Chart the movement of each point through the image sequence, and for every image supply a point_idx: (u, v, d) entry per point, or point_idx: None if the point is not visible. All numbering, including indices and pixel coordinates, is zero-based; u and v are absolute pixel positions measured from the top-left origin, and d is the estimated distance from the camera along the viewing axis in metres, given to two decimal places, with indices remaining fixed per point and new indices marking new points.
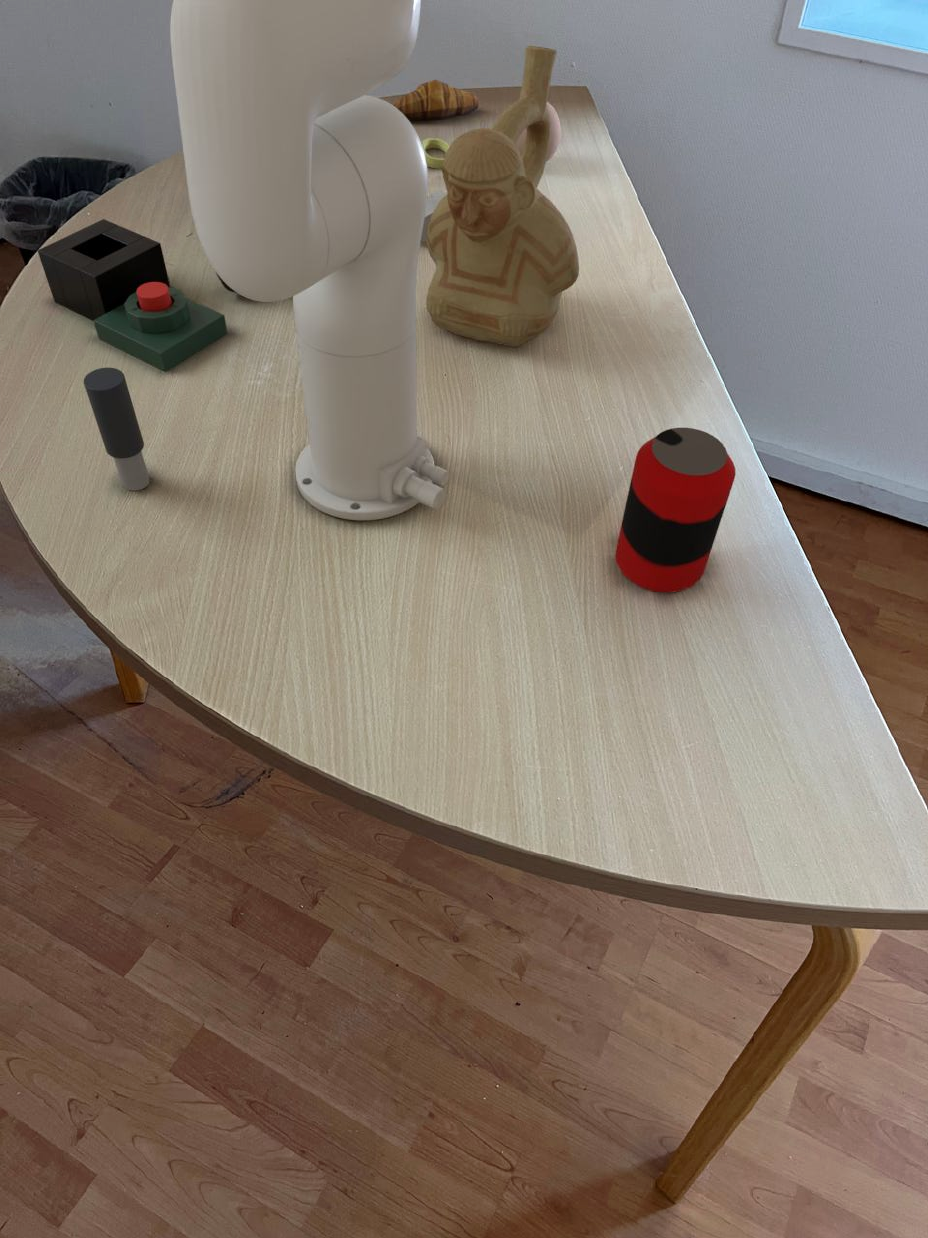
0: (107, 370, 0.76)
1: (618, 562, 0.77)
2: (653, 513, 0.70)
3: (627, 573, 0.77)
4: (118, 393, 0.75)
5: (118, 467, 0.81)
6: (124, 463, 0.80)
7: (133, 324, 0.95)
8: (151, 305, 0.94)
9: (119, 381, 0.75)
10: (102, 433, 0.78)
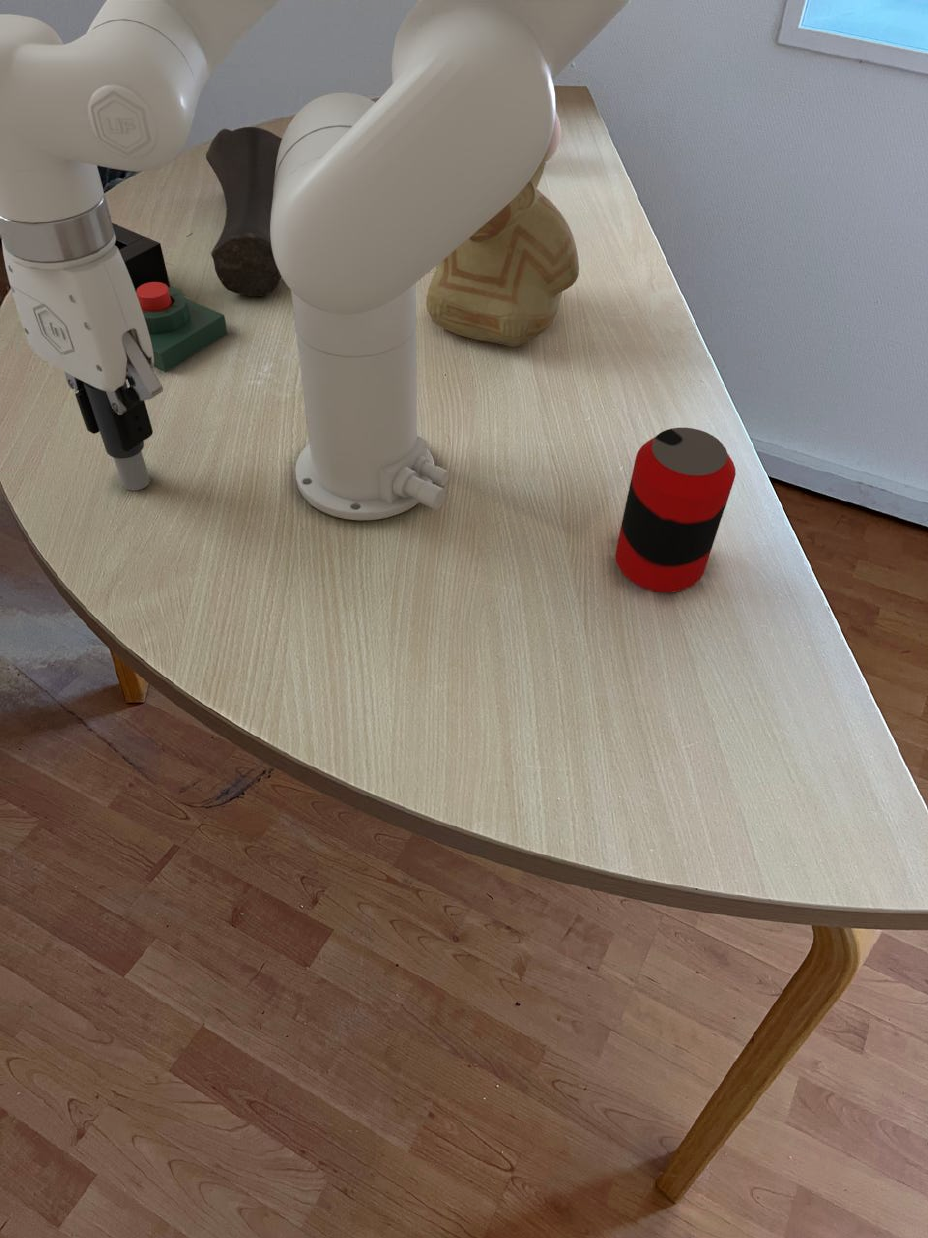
0: None
1: (618, 562, 0.77)
2: (653, 513, 0.70)
3: (627, 573, 0.77)
4: None
5: (118, 467, 0.81)
6: (124, 463, 0.80)
7: None
8: (151, 305, 0.94)
9: None
10: (102, 433, 0.78)
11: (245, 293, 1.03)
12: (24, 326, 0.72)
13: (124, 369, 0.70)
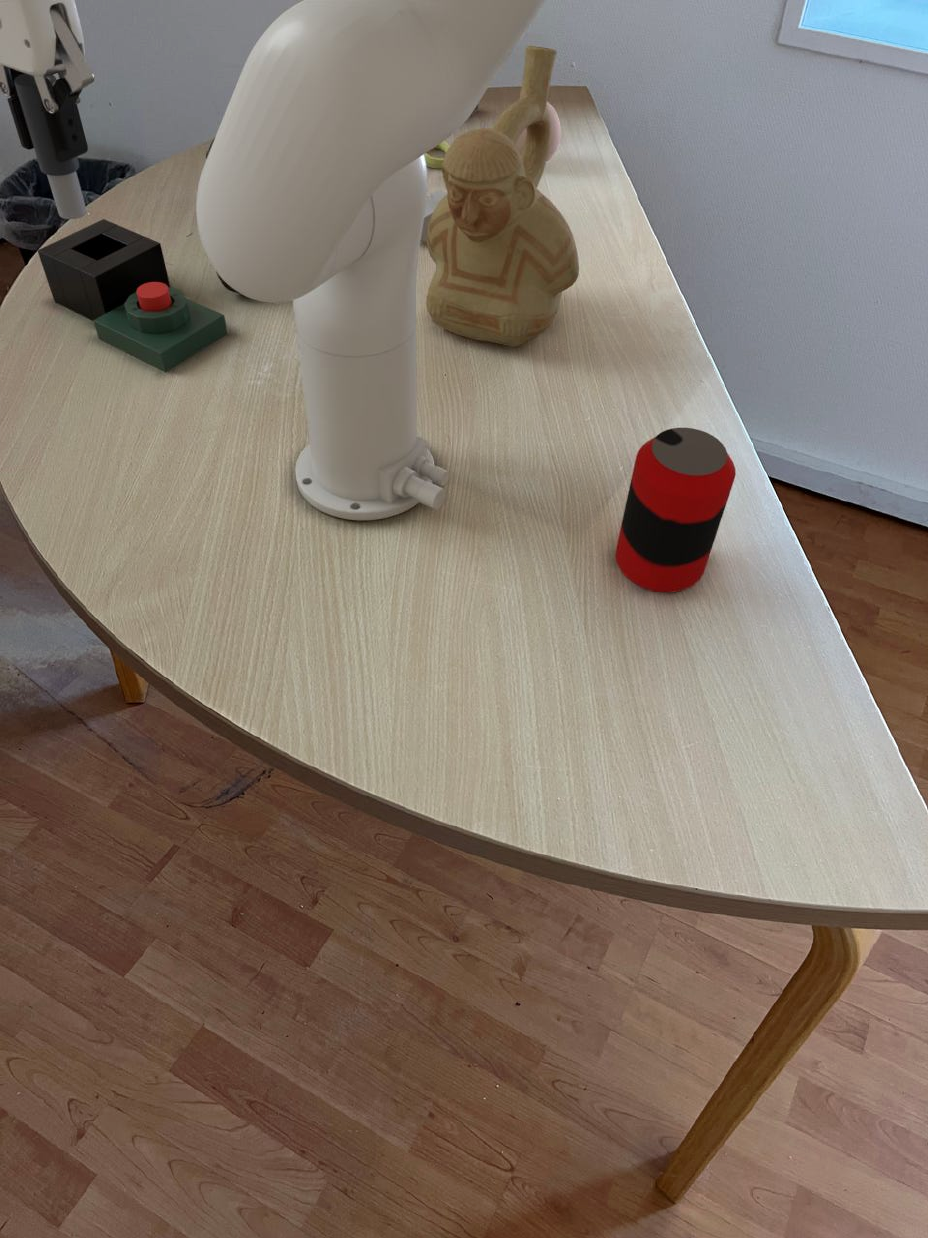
0: None
1: (618, 562, 0.77)
2: (653, 513, 0.70)
3: (627, 573, 0.77)
4: None
5: (53, 190, 0.80)
6: (59, 183, 0.80)
7: (133, 324, 0.95)
8: (151, 305, 0.94)
9: (51, 81, 0.74)
10: (35, 144, 0.77)
11: None
12: None
13: (53, 49, 0.69)
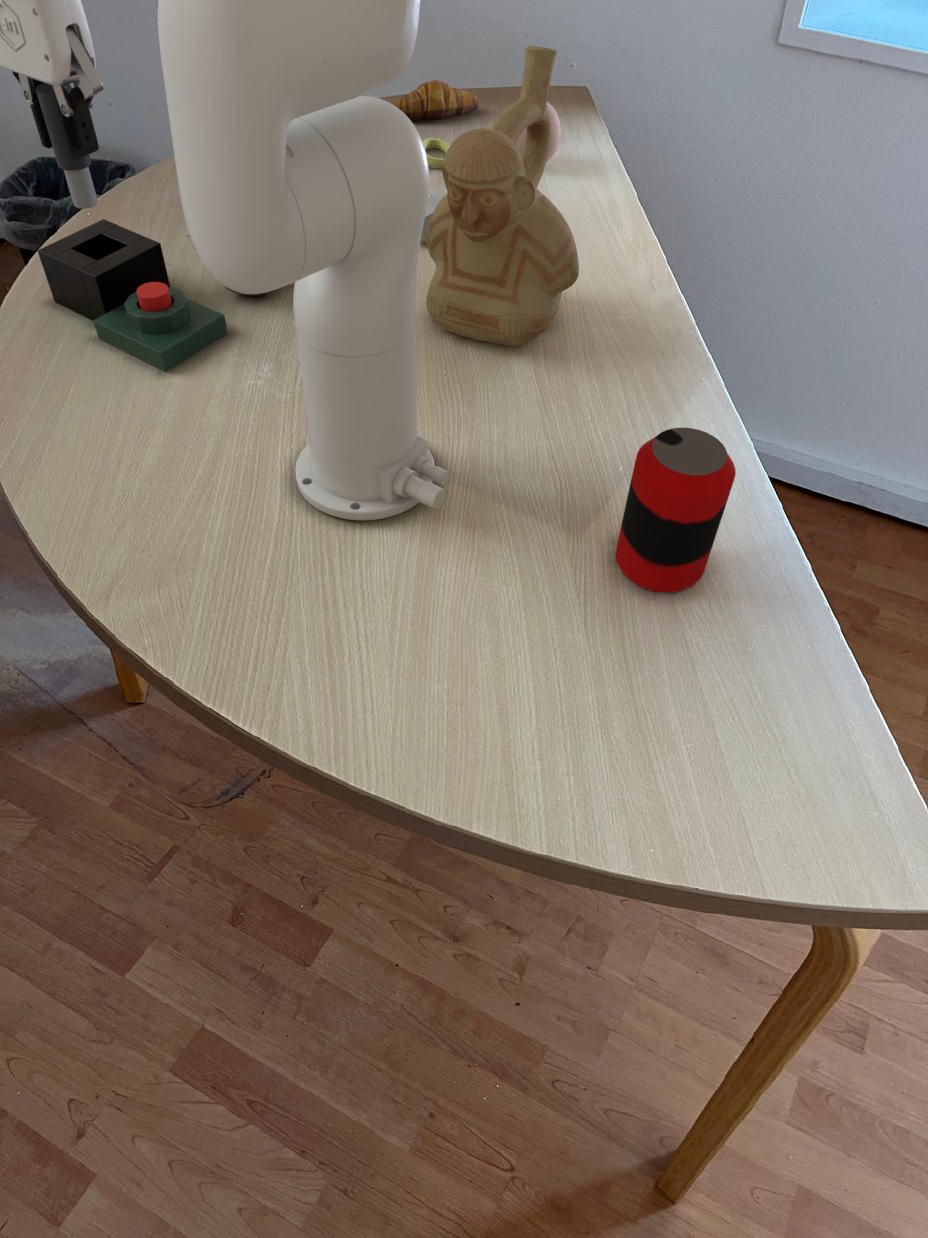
0: None
1: (618, 562, 0.77)
2: (653, 513, 0.70)
3: (627, 573, 0.77)
4: None
5: (69, 183, 0.93)
6: (74, 177, 0.92)
7: (133, 324, 0.95)
8: (151, 305, 0.94)
9: (67, 89, 0.87)
10: (53, 143, 0.90)
11: None
12: None
13: (69, 62, 0.82)
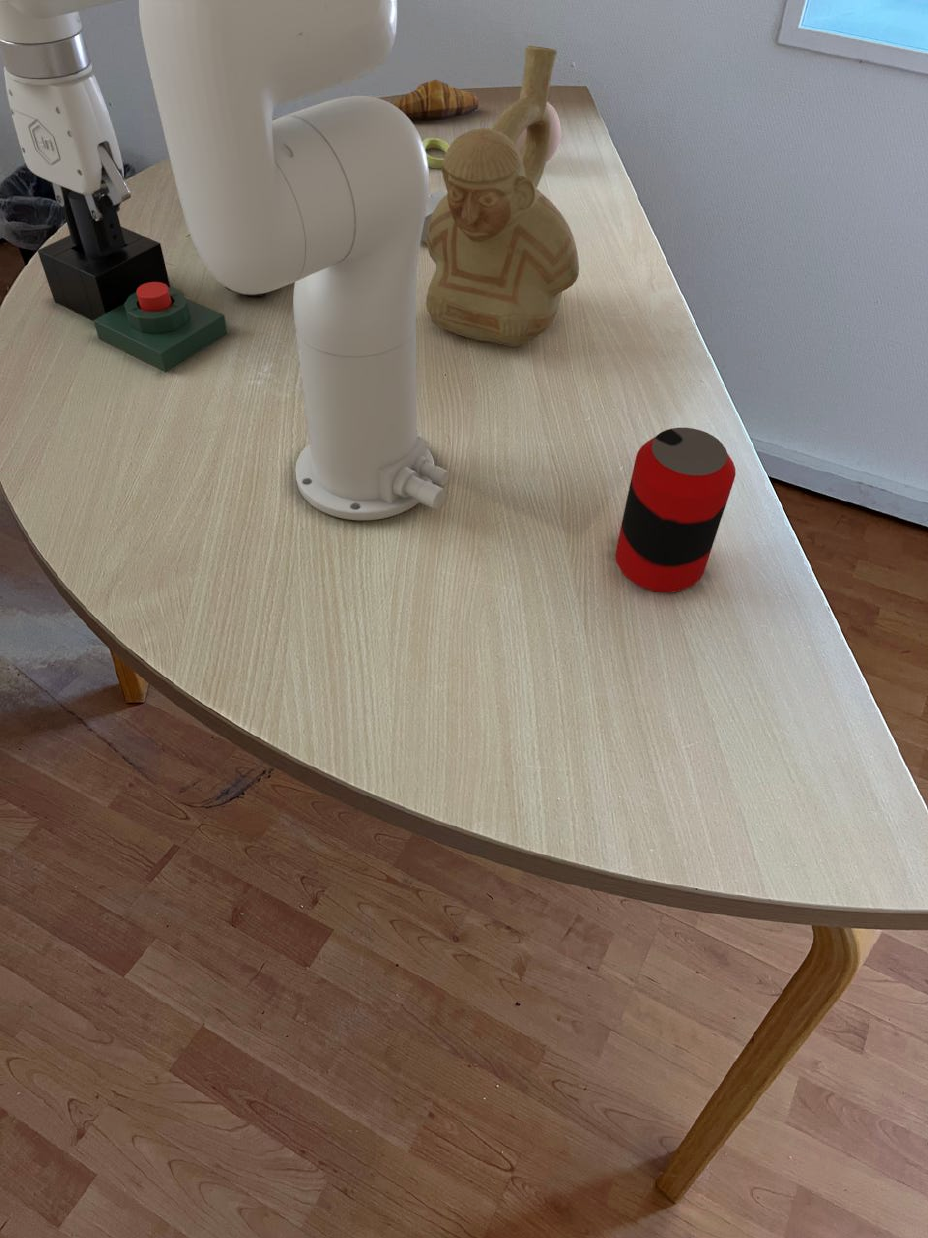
0: None
1: (618, 562, 0.77)
2: (653, 513, 0.70)
3: (627, 573, 0.77)
4: None
5: None
6: None
7: (133, 324, 0.95)
8: (151, 305, 0.94)
9: (96, 195, 0.94)
10: (83, 242, 0.97)
11: None
12: (22, 146, 0.91)
13: (100, 175, 0.89)
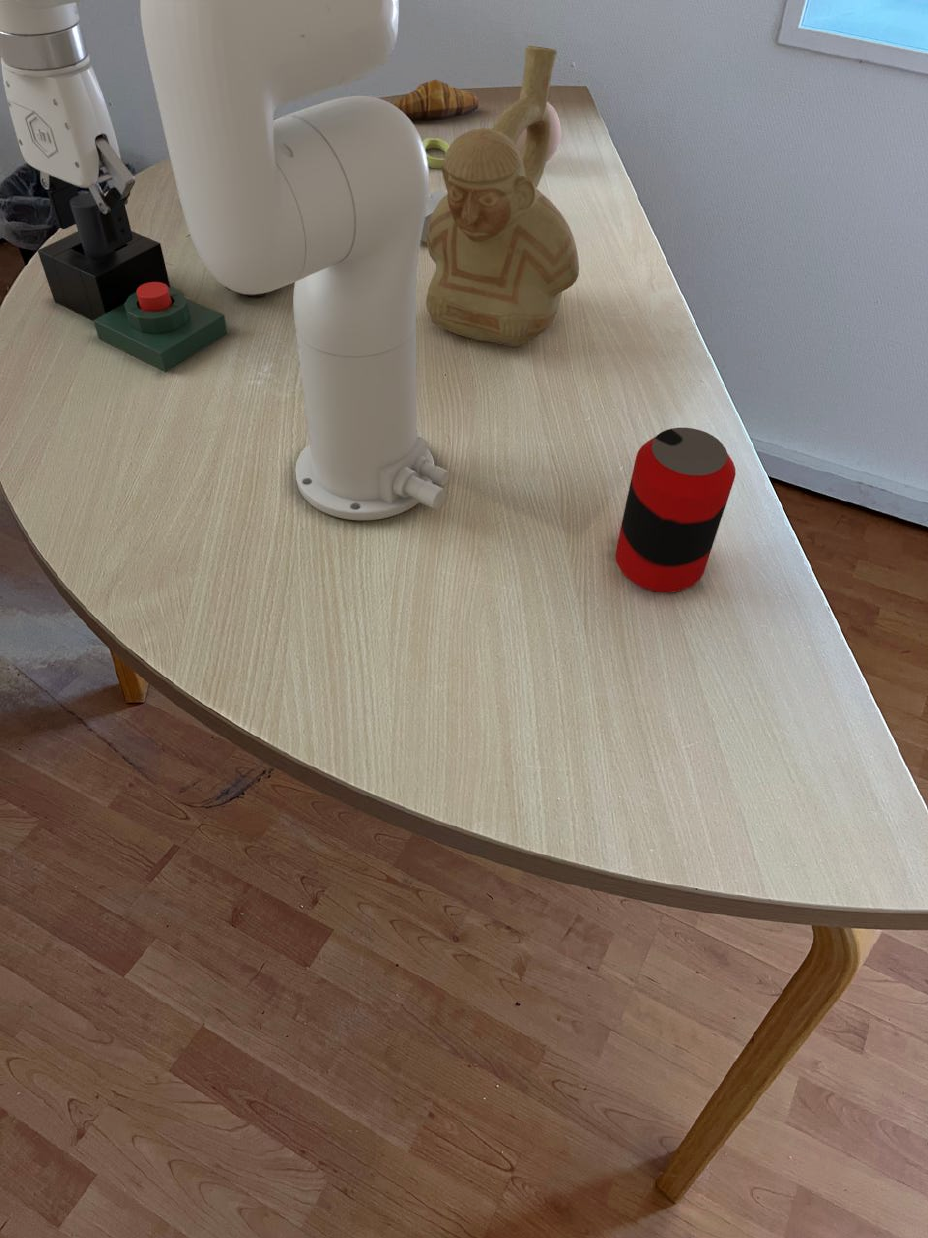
0: (88, 195, 0.96)
1: (618, 562, 0.77)
2: (653, 513, 0.70)
3: (627, 573, 0.77)
4: (97, 211, 0.95)
5: None
6: None
7: (133, 324, 0.95)
8: (151, 305, 0.94)
9: None
10: (85, 248, 0.98)
11: None
12: (19, 138, 0.91)
13: (97, 168, 0.89)
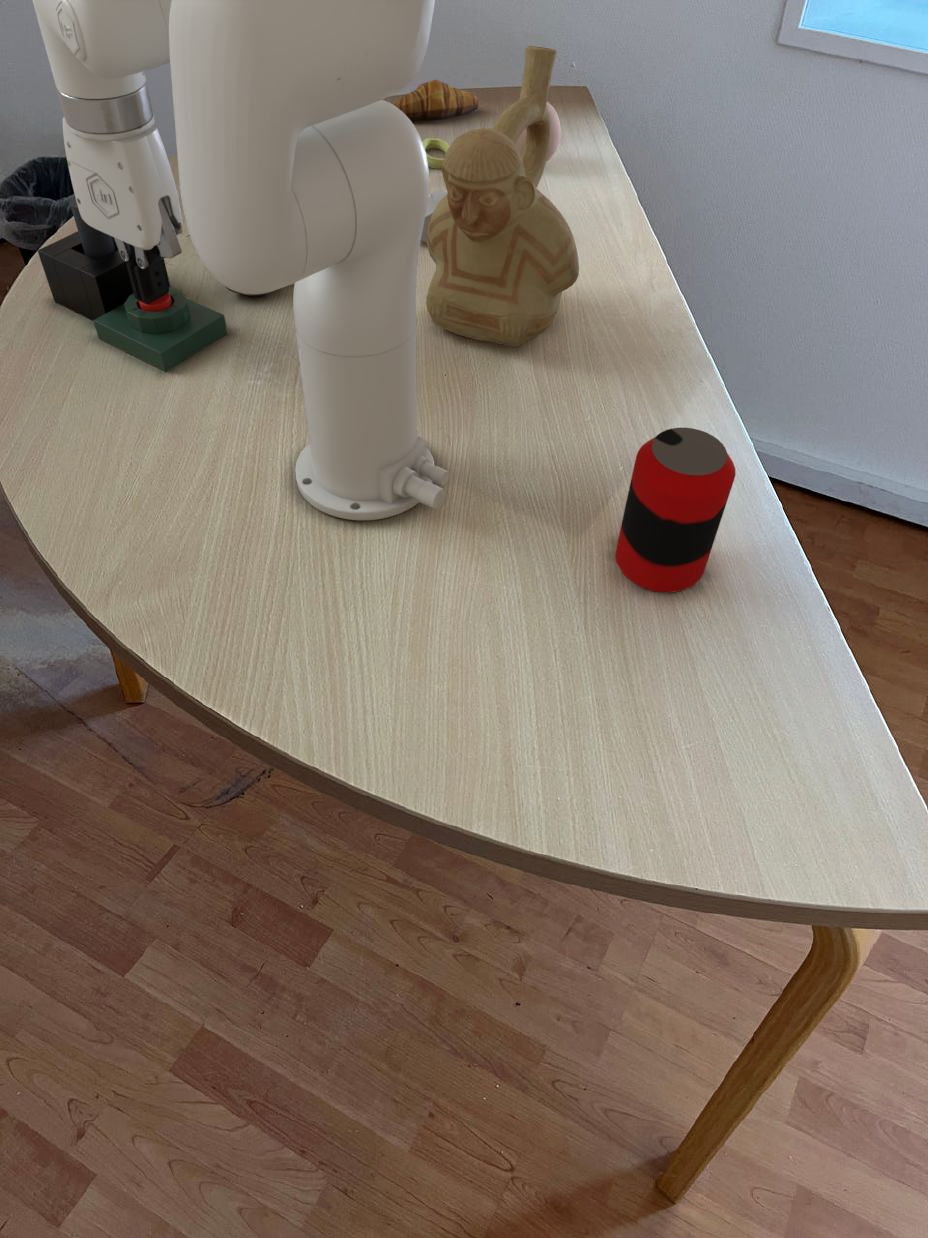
0: None
1: (618, 562, 0.77)
2: (653, 513, 0.70)
3: (627, 573, 0.77)
4: None
5: None
6: None
7: (133, 324, 0.95)
8: None
9: None
10: (85, 248, 0.98)
11: None
12: (77, 197, 0.88)
13: (159, 230, 0.86)
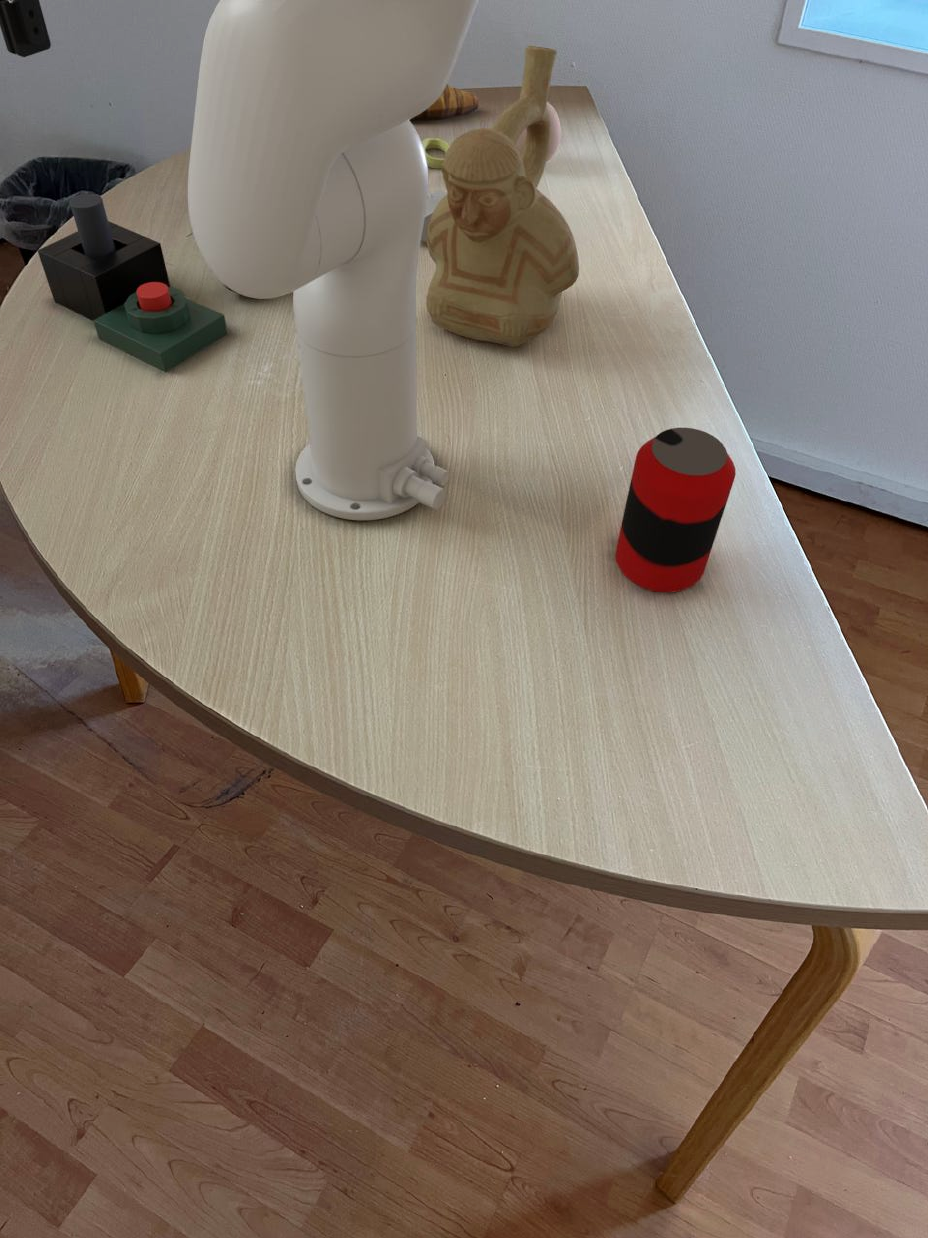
0: (88, 195, 0.96)
1: (618, 562, 0.77)
2: (653, 513, 0.70)
3: (627, 573, 0.77)
4: (97, 211, 0.95)
5: None
6: None
7: (133, 324, 0.95)
8: (151, 305, 0.94)
9: (98, 202, 0.95)
10: (85, 248, 0.98)
11: None
12: None
13: None
